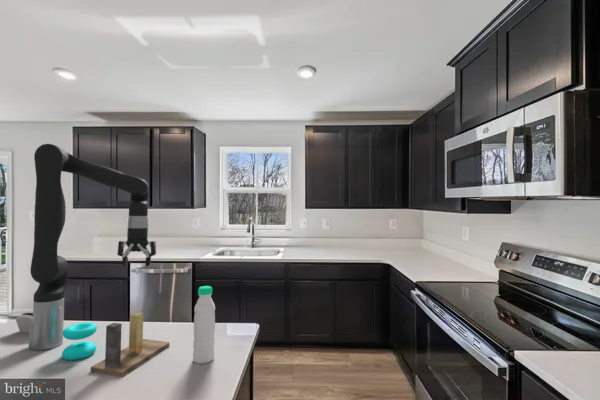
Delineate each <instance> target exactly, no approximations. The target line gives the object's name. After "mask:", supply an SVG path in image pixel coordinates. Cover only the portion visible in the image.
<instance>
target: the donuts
mask: <svg viewBox="0 0 600 400" xmlns="http://www.w3.org/2000/svg"><path fill="white" fill-rule="evenodd" d="M97 330H98V326H97V324H96V323H93V322H80V323H75V324H71V325H69V326H67V327H65V329H63V338H64V339H66V340H68V341H69V340H70V341H77V342H74V343H71V344H69V345H67V346H66V347H64V349H63V350H62V352H61V356H62V358H63V359H64V360H67V361H77V360H81V359H85V358H87V357H90V356H92V355H93V354H94V353H95V352H96V350H97V345H96V343H94V342H92V341H86V340H85V341H78V340H82V339H86V338H89V337H91V336H93V335H94V334H95V333H96V332H97Z"/></svg>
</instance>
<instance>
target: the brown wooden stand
mask: <svg viewBox="0 0 600 400" xmlns="http://www.w3.org/2000/svg"><path fill="white" fill-rule="evenodd" d="M105 329H106V332H105V353H104V354H105V358H104V359H103V360H100V361H99V362H97V363H95V364H94V365H92V366H90V372H91V373H95V374H100V375H101V374H102V375H108V376H115V377H121V378H123V377H125V376H126V375H129V373H131V372H132V371H134V370H135V369H137V368H138V367H140V366H142V365H143V364H144V363H146V362H147V361H149V360H151V359H152V358H154V357H155V356H157V355H159V354H160V353H162V352H163V351H165V350H166V349H168V348H169V347H170V342H168V341H161V340H154V339H145V338H143V344H142V351H140V352H139V353H137V354H133V353H129V345H128V346H126V347H124V348H123V349H122V348H121V347H122V323H118V322H112V323H110V324H107V325H106V327H105Z"/></svg>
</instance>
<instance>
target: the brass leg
mask: <svg viewBox="0 0 600 400" xmlns="http://www.w3.org/2000/svg"><path fill="white" fill-rule="evenodd" d="M128 334H129V335H128V339H129V340H128V346H129V353H133V354H137V353H139V352H140V351H142V344H143V339H144V335H143V334H144V313H143V312H137V311H136V312H134V313H132V314H129V333H128Z"/></svg>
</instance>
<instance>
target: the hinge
mask: <svg viewBox="0 0 600 400" xmlns="http://www.w3.org/2000/svg"><path fill="white" fill-rule="evenodd" d="M15 321H16V325H17V328H18V331H19V333H25V332H26V333H25V334H29V326H30V322H32V321H33V310H32V311H31V310H30V311H27V312H26V311H25V312H24V313H22V314H20V315H18V316H17V317H16V318H15Z"/></svg>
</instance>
